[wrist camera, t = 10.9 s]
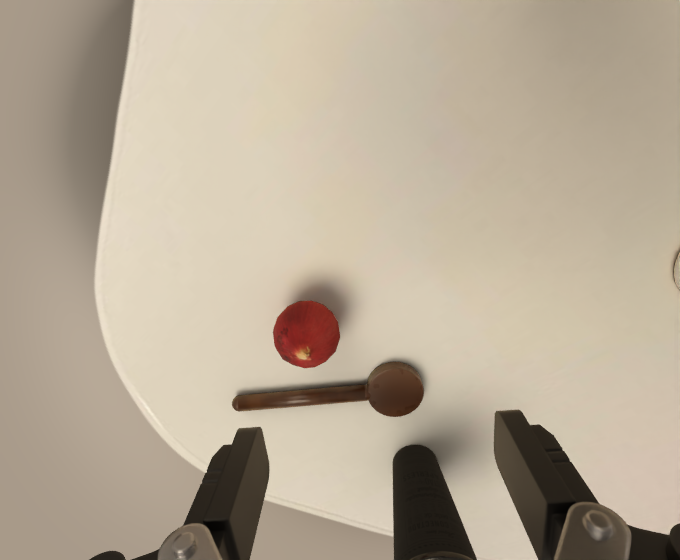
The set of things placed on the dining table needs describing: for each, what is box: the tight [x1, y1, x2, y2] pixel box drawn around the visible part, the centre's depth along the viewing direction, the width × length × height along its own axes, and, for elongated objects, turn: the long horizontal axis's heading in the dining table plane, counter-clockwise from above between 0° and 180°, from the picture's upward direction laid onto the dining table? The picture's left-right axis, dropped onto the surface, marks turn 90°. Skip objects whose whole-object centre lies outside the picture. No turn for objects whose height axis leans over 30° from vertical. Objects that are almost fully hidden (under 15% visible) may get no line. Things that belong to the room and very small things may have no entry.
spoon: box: [232, 362, 424, 417], centre depth 41 cm, size 6×20×2 cm, turn 97°
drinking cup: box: [393, 445, 477, 560], centre depth 35 cm, size 8×8×20 cm
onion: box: [273, 301, 340, 368], centre depth 35 cm, size 6×6×8 cm
